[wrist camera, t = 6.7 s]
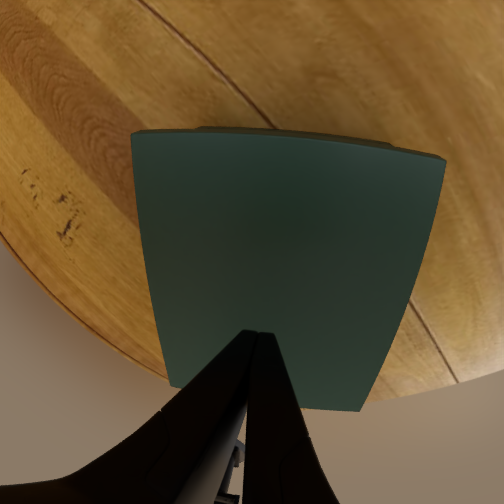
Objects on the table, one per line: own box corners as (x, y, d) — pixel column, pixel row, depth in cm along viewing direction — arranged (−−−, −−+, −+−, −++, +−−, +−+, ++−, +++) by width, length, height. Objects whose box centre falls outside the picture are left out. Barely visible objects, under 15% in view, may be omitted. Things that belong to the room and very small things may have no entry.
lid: (140, 129, 11) (129, 133, 10) (438, 155, 9) (447, 160, 9) (174, 376, 17) (170, 386, 17) (359, 400, 16) (359, 412, 15)
